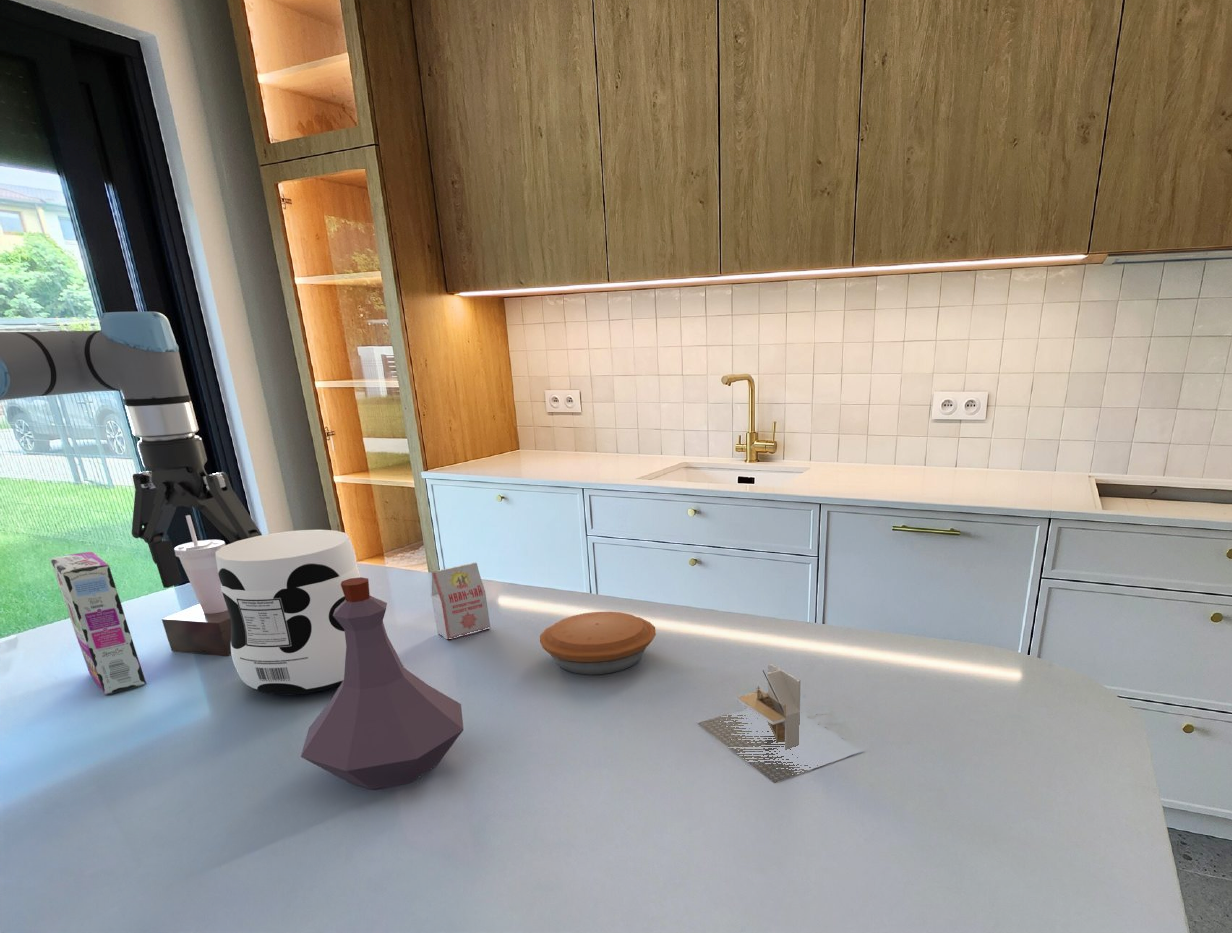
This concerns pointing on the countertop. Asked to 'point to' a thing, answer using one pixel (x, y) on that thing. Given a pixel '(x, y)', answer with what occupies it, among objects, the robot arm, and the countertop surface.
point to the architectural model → (781, 718)
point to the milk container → (287, 608)
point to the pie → (597, 641)
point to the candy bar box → (98, 621)
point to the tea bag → (459, 601)
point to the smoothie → (203, 570)
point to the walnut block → (199, 632)
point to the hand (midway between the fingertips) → (211, 587)
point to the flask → (379, 706)
